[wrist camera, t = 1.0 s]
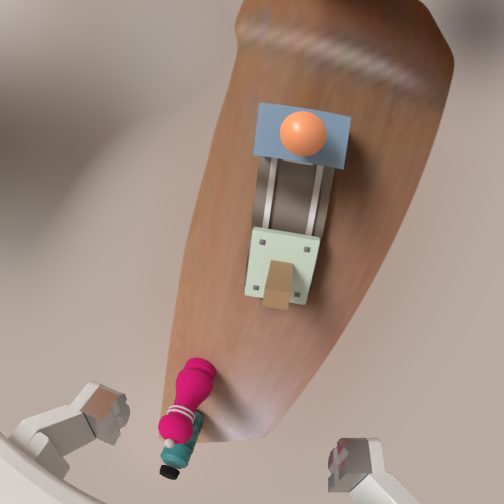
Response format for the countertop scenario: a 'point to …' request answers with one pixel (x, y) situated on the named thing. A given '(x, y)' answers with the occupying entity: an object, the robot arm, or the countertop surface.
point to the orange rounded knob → (303, 133)
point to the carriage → (280, 267)
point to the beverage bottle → (180, 452)
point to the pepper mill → (186, 401)
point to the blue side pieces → (273, 147)
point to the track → (291, 198)
